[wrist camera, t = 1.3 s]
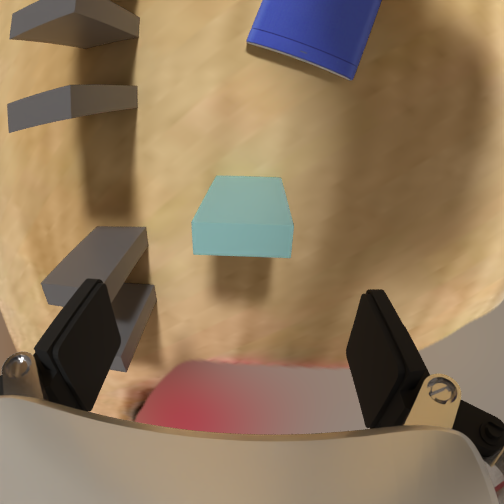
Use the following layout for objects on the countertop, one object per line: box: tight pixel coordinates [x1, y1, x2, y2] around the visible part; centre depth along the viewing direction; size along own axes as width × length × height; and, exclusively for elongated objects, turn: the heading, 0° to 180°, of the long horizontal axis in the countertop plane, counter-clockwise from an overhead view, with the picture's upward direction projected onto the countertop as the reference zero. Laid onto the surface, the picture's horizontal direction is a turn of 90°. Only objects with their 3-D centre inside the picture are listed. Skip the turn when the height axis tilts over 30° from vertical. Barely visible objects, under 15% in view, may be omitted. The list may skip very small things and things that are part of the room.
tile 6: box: [110, 283, 157, 372], centre depth 24 cm, size 2×5×10 cm, turn 88°
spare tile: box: [192, 176, 294, 258], centre depth 20 cm, size 2×5×10 cm, turn 88°
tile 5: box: [41, 226, 148, 307], centre depth 22 cm, size 2×5×10 cm, turn 88°
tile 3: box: [7, 85, 138, 133], centre depth 16 cm, size 2×5×10 cm, turn 88°
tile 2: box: [10, 0, 140, 49], centre depth 13 cm, size 2×5×10 cm, turn 88°
